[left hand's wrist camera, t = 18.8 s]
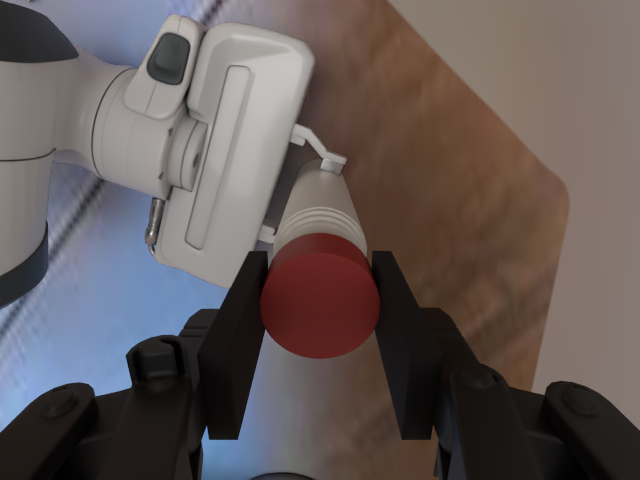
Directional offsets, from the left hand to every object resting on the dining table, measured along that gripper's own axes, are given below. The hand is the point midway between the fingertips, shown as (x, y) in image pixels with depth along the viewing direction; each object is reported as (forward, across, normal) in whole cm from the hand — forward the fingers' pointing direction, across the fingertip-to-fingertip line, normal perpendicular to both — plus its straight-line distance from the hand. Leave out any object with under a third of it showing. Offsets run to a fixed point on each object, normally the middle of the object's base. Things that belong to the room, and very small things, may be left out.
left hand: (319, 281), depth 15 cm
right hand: (+15, -1, 0) cm, 15 cm away
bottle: (+21, 0, 0) cm, 21 cm away
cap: (-2, 0, 0) cm, 2 cm away
